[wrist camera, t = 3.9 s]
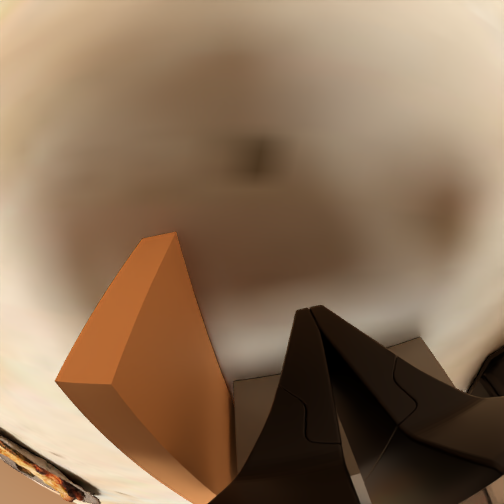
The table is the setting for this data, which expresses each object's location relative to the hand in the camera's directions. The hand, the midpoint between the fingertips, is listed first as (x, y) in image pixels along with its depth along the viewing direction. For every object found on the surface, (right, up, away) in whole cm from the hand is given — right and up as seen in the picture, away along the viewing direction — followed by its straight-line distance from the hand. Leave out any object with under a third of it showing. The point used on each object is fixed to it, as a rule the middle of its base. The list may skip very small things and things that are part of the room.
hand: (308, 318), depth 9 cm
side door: (-3, -9, +6) cm, 11 cm away
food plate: (-37, -31, +14) cm, 50 cm away
